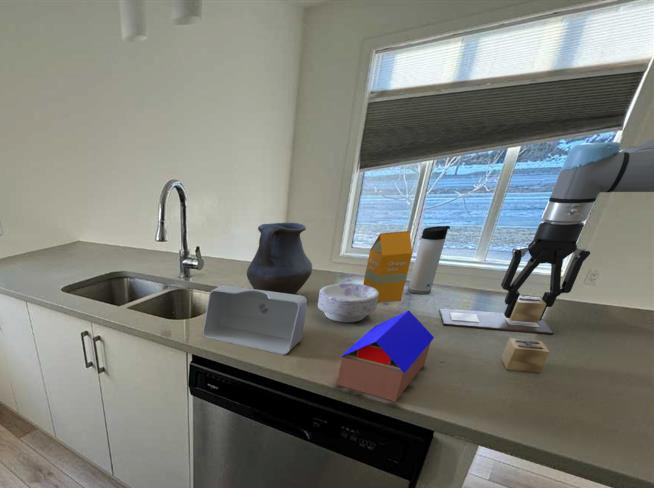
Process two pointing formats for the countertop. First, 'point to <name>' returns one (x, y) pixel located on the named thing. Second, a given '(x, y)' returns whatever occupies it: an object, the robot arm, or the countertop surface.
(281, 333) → the gray plastic bin
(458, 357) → the countertop surface
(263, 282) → the pitcher
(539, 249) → the robot arm
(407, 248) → the orange juice
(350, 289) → the paper bowls
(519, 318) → the wooden letter tile box
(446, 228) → the travel mug
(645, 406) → the countertop surface
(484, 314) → the word board
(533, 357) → the wooden letter cube
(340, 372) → the house
